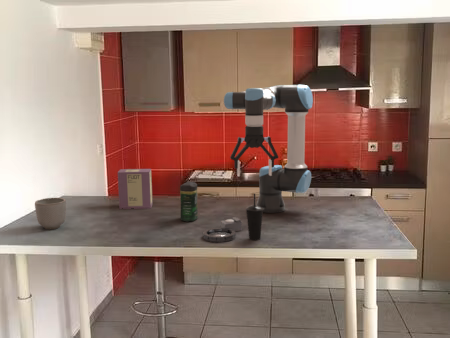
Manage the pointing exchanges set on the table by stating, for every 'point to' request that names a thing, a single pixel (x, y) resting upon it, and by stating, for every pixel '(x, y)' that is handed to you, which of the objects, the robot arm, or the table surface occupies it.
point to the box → (135, 188)
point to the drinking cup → (254, 220)
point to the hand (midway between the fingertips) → (254, 175)
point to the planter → (51, 212)
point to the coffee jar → (189, 201)
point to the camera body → (232, 224)
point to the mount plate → (219, 234)
